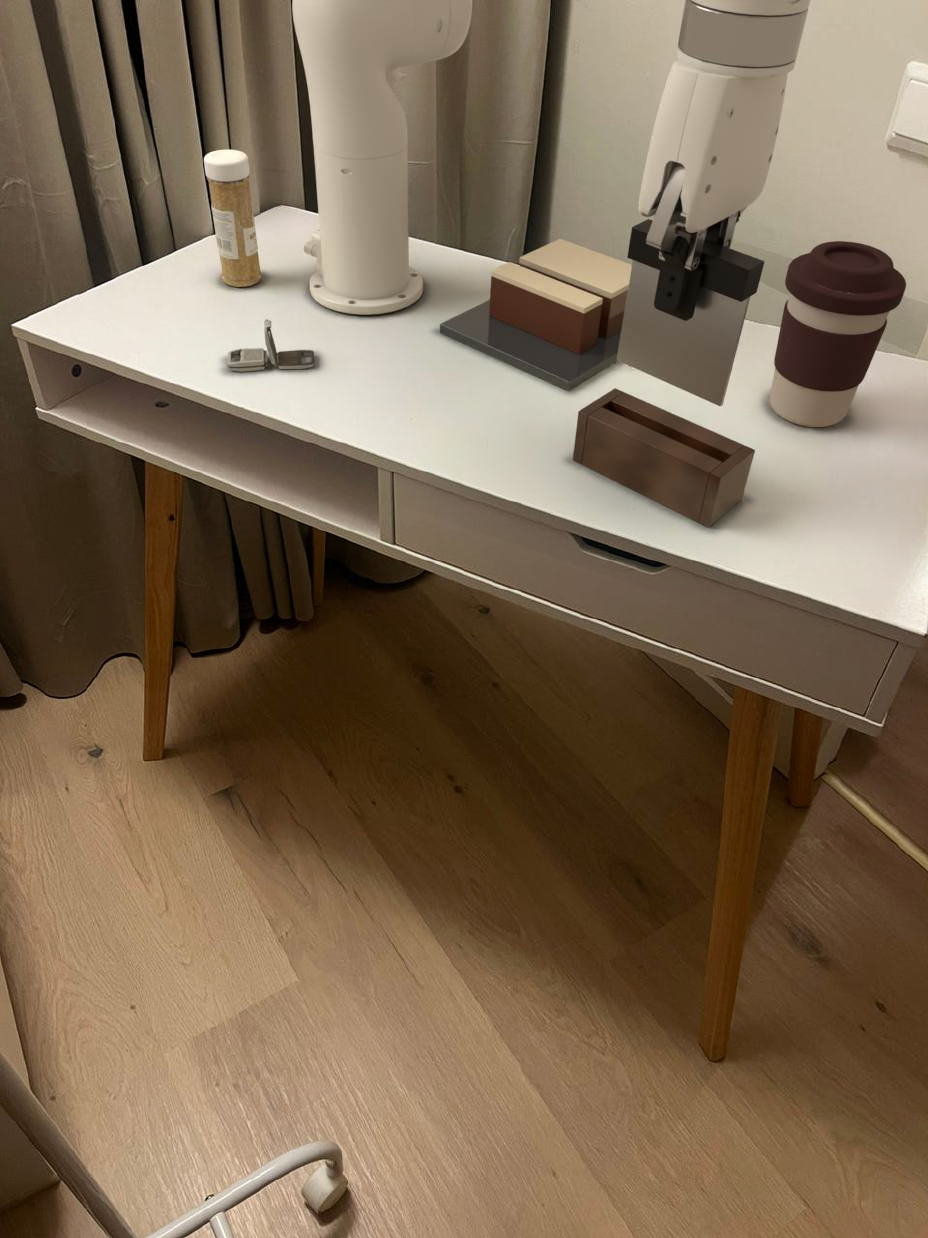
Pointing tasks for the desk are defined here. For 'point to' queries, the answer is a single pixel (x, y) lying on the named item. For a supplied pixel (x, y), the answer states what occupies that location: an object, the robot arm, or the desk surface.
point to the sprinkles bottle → (233, 216)
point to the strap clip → (258, 356)
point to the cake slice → (545, 307)
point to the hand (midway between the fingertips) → (683, 305)
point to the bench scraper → (705, 341)
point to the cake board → (536, 353)
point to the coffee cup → (831, 329)
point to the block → (662, 456)
